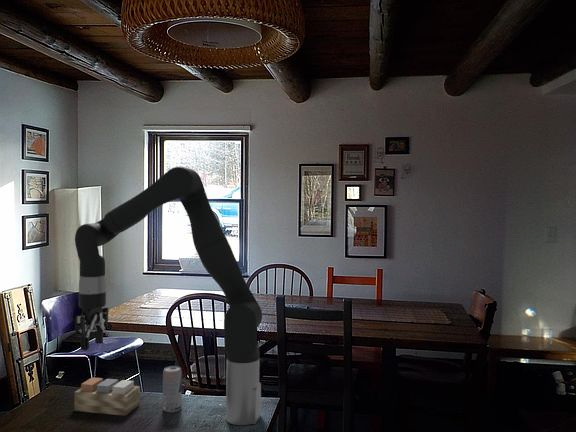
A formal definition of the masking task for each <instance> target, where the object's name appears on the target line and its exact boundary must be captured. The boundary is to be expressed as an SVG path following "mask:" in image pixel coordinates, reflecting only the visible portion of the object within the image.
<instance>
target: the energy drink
mask: <svg viewBox="0 0 576 432" xmlns="http://www.w3.org/2000/svg"><path fill="white" fill-rule="evenodd" d="M182 373H183V371H182V368H181V367H180V366H177V365H171V366H166V367H164V369H163V371H162V410H163V411H164V412H165V413H177V412H179V411H181V409H182V407H183V406H182V399H183V398H182V392H183V391H182V384H183V383H182V382H183V379H182V377H183V375H182Z"/></svg>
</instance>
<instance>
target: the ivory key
mask: <svg viewBox="0 0 576 432" xmlns="http://www.w3.org/2000/svg"><path fill="white" fill-rule="evenodd" d="M134 383H135V382H134V380H125V379H122V380H120V381H118V383H117V384H116V385H114V386H113V394H119V395H125V394H127V393H128V392H129V391H131V390H132V389H133V388H134V386H135V385H134Z"/></svg>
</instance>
